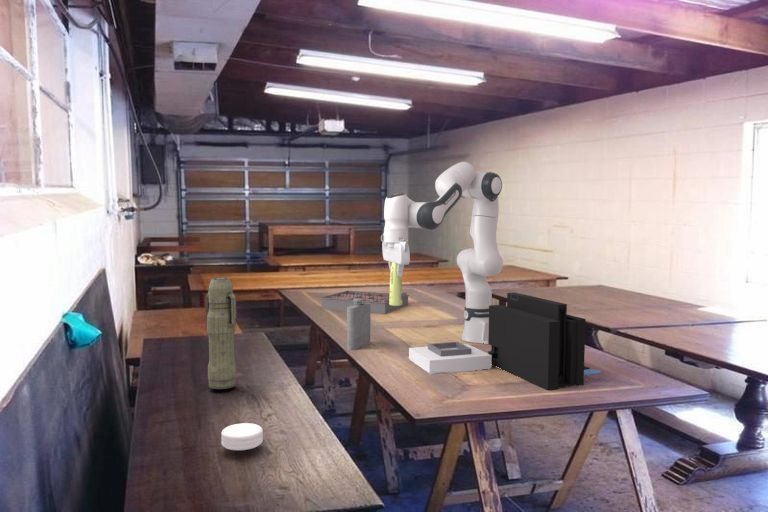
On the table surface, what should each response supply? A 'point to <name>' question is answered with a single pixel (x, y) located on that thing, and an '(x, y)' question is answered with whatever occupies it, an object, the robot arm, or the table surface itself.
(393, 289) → the tube
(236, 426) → the coaster
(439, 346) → the white box with hole
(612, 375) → the table surface
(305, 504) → the table surface
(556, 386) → the game console
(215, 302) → the thermos
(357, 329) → the hip flask
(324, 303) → the organizer tray
